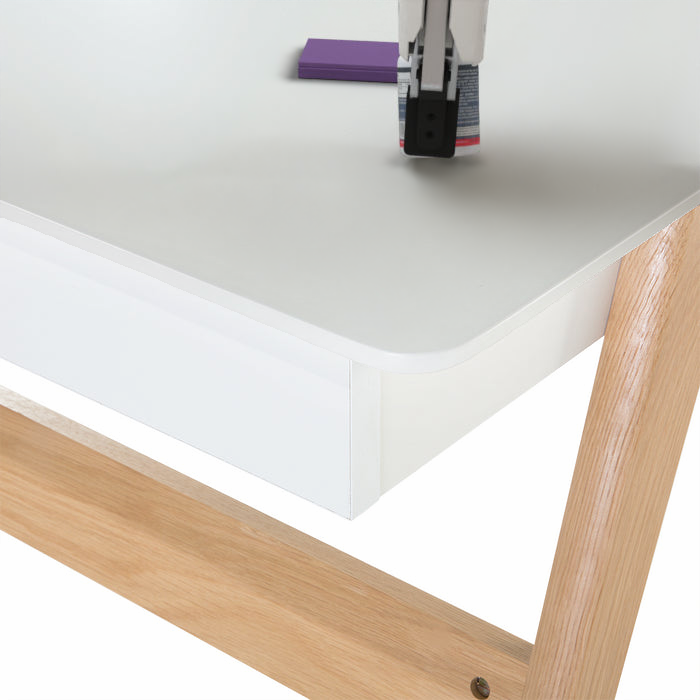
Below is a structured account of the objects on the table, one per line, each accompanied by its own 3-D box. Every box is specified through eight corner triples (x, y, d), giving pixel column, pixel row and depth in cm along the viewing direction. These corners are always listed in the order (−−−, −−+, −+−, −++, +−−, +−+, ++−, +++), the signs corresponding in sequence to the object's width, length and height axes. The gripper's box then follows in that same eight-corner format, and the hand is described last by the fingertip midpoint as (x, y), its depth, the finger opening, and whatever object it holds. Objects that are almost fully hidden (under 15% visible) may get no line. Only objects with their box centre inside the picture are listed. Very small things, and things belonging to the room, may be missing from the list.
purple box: (458, 56, 98) (459, 42, 97) (454, 85, 93) (455, 70, 93) (309, 49, 99) (309, 35, 99) (298, 77, 94) (297, 62, 94)
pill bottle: (490, 151, 82) (489, 13, 80) (464, 158, 78) (462, 12, 76) (417, 151, 84) (414, 17, 82) (387, 158, 80) (383, 16, 78)
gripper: (520, -121, 61) (487, 211, 71) (518, -182, 73) (490, 108, 83) (369, -129, 61) (358, 201, 72) (392, -188, 74) (380, 101, 84)
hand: (429, 150), depth 77 cm, fingers closed
